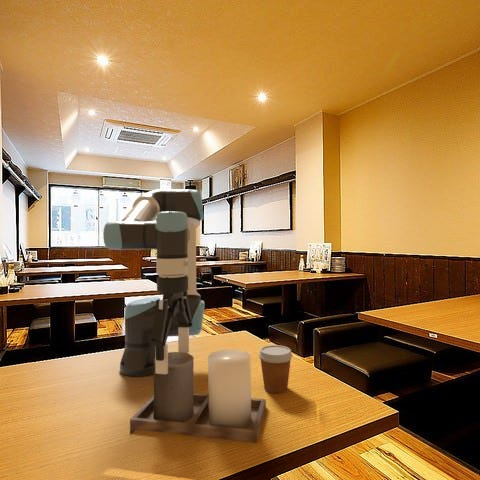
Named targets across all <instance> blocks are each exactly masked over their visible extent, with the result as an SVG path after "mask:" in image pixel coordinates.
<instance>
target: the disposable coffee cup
mask: <svg viewBox="0 0 480 480" xmlns="http://www.w3.org/2000/svg"><path fill="white" fill-rule="evenodd" d="M258 357H259V359H260V364H261V366H260V367H261V372H262V373H261V374H262V379H263V388H264V390H265V392H267V393H269V394H272V395H281V394H285V393H286V392H287V391H288V387H289V386H288V385H289V379H290V378H289V377H290V368H291V360H292V357H293V352H292V350H291V348H289V347H288V346H284V345H279V344H273V345H265V346H262V347H261V348H260V350H259V353H258Z"/></svg>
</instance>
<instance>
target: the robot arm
mask: <svg viewBox="0 0 480 480" xmlns="http://www.w3.org/2000/svg"><path fill="white" fill-rule="evenodd" d="M203 208H204V207H203V199H202V194H201V192H200V191H199V190H198V189H189V188H187V189H177V188H176V189H165V188H164V189H163V188H160V189H154V190H150V191H147V192H146V193H144V194H141V195H140V196H139V197H137V198H136V199H135V200H134V202H133V204H132V208H131V210H130V211H128V213H127V214H126V215H125V216H124V217H123V218H122V220H121V221H118V220H115V221H108V222H106V223H105V224H104V227H103V235H102V236H103V237H102V238H103V244H104V246H105V248H106V249H108V250H116V251H117V250H118V251H126V250H127V251H128V250H131V251H133V250H135V251H137V250H156V257H155V258H156V274H157V275H158V276H157V277H156V291H157V292H158V293H159V294H162V299H161V298H160V297H156V296H155V297H153V296H152V297H145V298H140V299H136V300H133V301H130V302H129V303H127V304H126V306H125V309H124V316H123V317H124V349H123V352H122V357H121V359H120V362H119V363H120V364H119V372H120V373H121V374H122V375H124V376H126V377H127V376H128V377H146V376H150V375H151V376H152V375H154V359H155V369H156V374H168V353H169V345H168V343H167V339H168V338H169V337H178V338H177V340H178V341H177V342H178V343H177V344H178V347H177V348H178V349H177V350H178V351H177V352H183V353H188V354H190V353H189V352H190V336H198V335H200V333H201V332H202V329H203V323H204V322H203V320H204V314H205V313H204V312H205V306H206V305H205V302H206V301H204V300H202V299H201V294H200V293H198V291H197V229H198V227H199V226H200V225H201V221H203V220H204V219H205V218H204V217H205V216H204V209H203Z"/></svg>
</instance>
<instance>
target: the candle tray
mask: <svg viewBox="0 0 480 480" xmlns="http://www.w3.org/2000/svg"><path fill="white" fill-rule="evenodd" d="M266 402H267V399H266V398H258V397H257V398H255V397H251V423H250V425H249V426H248V427H247V428H245V429H240V428H230V427H221V426H211V425H210V424H209V393H208V394H207V393H197V392H193V415H192V417H191V418H189V419H188V420H187V421H185V422H173V421H163V420H155V419H154V418H153V414H154V395H152V396H151V397H150V399H149V400H148V401H146V403H144V405H142V407H141V408H140V409H139V410H138V411H136V412H135V414H134V415H132V417H131V418H130V419H129V433H130V434H133V433H134V432H135V431H137V430H138V431H140V430H141V431H148V432H158V433H159V432H160V433H165V434H166V433H167V434H176V435H185V436H192V437H202V438H210V439H211V438H212V439H218V440H219V439H221V440H228V441H237V442H249V443H258V441H259V435H260V431H261V427H262V425H263V424H262V423H263V421H264V415H265V412H266V407H267V405H266V404H267V403H266Z"/></svg>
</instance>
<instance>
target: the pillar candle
mask: <svg viewBox="0 0 480 480" xmlns="http://www.w3.org/2000/svg"><path fill="white" fill-rule="evenodd" d="M194 358H195V357H194V356H193V355H192V354H190V353H183V352H178V351H170V352H169V351H168V374H156V369H155V359H154V374H153V396H154V414H153V418H154V419H155V420H163V421H173V422H185V421H187V420H188V419H189V418H191V417H192V415H193V393H194Z"/></svg>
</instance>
